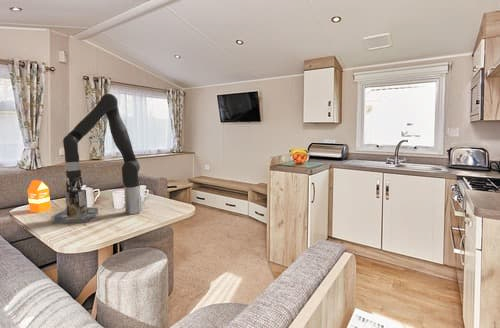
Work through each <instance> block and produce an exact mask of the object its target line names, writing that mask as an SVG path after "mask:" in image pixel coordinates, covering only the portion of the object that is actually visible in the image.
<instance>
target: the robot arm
mask: <svg viewBox="0 0 500 328" xmlns="http://www.w3.org/2000/svg"><path fill="white" fill-rule="evenodd" d="M118 105H119V103H118V98H117V97H116V96H115V95H114V94H113V93H105V94H103V95H102V96H101V98H100V99H99V101H98V102H97V104H96V105H95V106H94V107H93V109H91V111H90V112H89V113H88V114H87V115H86V116H85V117H84V118H83V119H81V121H79V123H78V124H76V125H75V127H74V128H73V129H72V130H71V131H70V132H69V133H67V134H66V135H65V136H64V137H63V140H62V144H63V149H64V161H65V163H64V167H65V176H66V178H67V179H69V180H66V181H65V183H66V184H65V187H66V192H70V198H75V195H74V190H82V187H83V186H84V184H83V177H82V169H81V162H80V153H79V146H78V145H79V142H80V141H81V140H82V139H83V137H85V136H86V135H87V134H88V133H89V132H90V131H92V129H94V127H95V126H96V125H97V124H98V123H99V121H100V120H101V118H102V117H104V116H106V119H107V122H108V126H109V130H110V134H111V137H112V140H113V143H114V145H115V146H116V148H117V149H118V151H119V152H120V155H121V156H122V159H123V165H122V167H121V174H122V176H121V177H122V178H121V179H122V182H123V189H124V207H125V214H127V215H136V214H137V215H138V214H140V213H141V212H142V211H143V206H142V205H143V204H142V203H143V201H142V196H141V186H140V180H139V172H140V169H141V167H140V164H139V161H138V159H137V157H136V155H135V152H134V149H133V145H132V142H131V138H130V135H129V133H128V130H127V127H126V125H125V122H124V121H123V120H122V118H121V115H120V111H119V107H118Z"/></svg>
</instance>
